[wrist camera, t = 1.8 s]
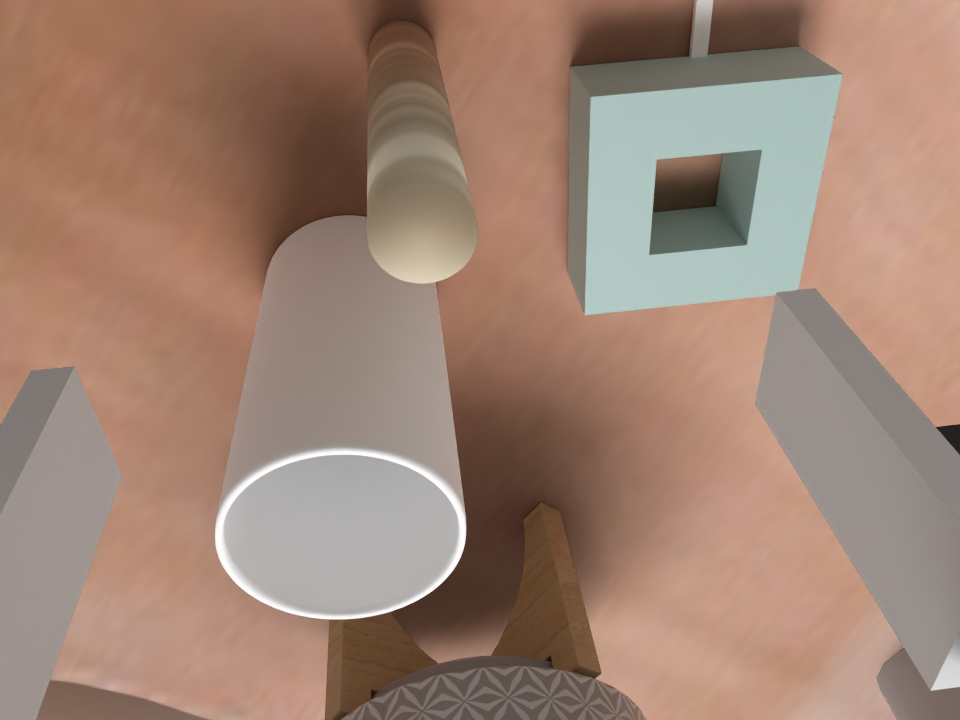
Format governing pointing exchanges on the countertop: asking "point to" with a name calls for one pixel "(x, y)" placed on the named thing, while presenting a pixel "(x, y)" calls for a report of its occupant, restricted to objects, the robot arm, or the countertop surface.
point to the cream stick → (700, 28)
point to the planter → (486, 679)
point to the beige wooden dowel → (414, 162)
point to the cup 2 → (915, 692)
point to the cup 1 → (342, 437)
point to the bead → (693, 132)
